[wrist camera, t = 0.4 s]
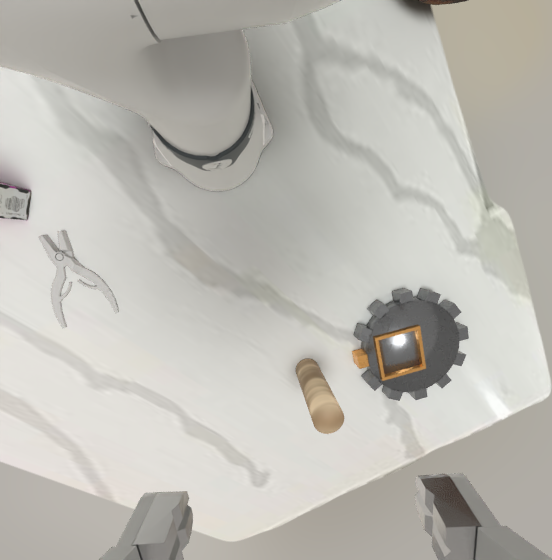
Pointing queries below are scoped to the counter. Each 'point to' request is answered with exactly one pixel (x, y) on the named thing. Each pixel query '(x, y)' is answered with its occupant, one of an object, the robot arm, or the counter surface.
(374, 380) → the sprocket
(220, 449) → the counter surface
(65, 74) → the robot arm
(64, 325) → the pliers
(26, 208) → the candy bar box
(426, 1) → the jug
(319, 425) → the drive pin
